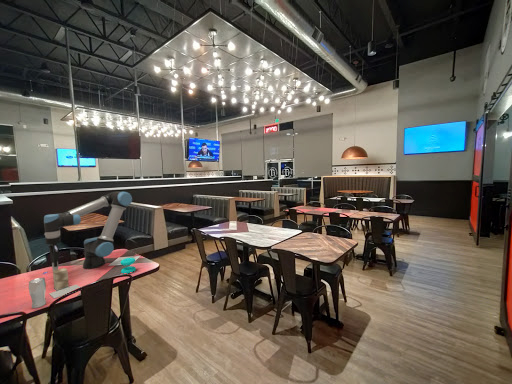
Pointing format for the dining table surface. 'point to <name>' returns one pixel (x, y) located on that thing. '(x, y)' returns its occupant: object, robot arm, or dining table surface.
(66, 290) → the grey mat
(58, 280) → the maple block
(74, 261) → the dining table surface
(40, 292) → the beer glass
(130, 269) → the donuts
